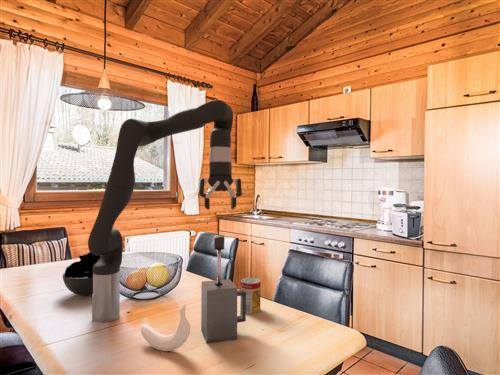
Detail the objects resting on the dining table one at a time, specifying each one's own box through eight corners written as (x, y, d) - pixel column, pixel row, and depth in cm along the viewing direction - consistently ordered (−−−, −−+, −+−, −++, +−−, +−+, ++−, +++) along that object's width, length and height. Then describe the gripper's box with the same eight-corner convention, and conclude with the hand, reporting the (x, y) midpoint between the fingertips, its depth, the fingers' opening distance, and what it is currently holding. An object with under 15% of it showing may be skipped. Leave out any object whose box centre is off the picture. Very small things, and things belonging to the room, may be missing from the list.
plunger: (215, 292, 115) (215, 237, 114) (212, 289, 118) (213, 236, 118) (225, 291, 116) (225, 237, 116) (222, 288, 119) (223, 235, 119)
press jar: (206, 343, 111) (207, 290, 111) (201, 330, 121) (201, 281, 120) (249, 337, 115) (249, 286, 115) (240, 325, 125) (240, 278, 125)
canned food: (262, 308, 142) (263, 278, 142) (256, 315, 135) (257, 284, 134) (244, 305, 145) (244, 276, 144) (237, 312, 137) (237, 282, 137)
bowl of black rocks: (87, 305, 143) (86, 259, 143) (52, 298, 151) (51, 255, 150) (121, 291, 162) (121, 250, 162) (89, 285, 169) (88, 247, 169)
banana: (144, 339, 114) (144, 294, 113) (194, 351, 106) (194, 303, 106) (133, 346, 109) (133, 299, 109) (185, 359, 102) (185, 309, 101)
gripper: (201, 160, 112) (201, 210, 112) (243, 160, 116) (243, 209, 117) (197, 161, 119) (197, 208, 120) (237, 162, 123) (237, 207, 124)
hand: (220, 209), depth 118 cm, fingers open, 8 cm apart
